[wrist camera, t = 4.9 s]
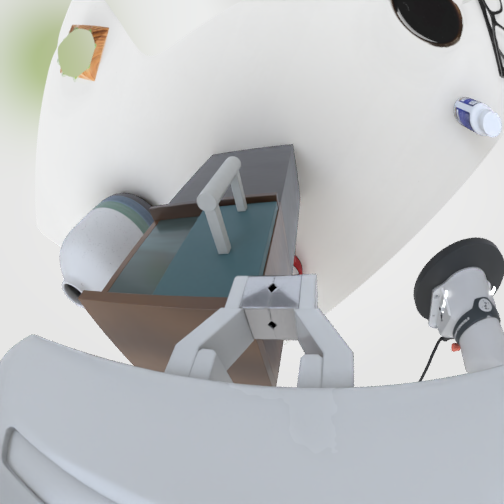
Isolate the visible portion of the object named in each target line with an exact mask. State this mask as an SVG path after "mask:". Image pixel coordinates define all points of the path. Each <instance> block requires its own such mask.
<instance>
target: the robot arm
mask: <svg viewBox="0 0 504 504" xmlns="http://www.w3.org/2000/svg"><path fill="white" fill-rule="evenodd" d="M490 288H491V284H490V282H489V281H488V280H487V279H486V275H485V273H484V271H483V270H482V269H480V268H478V267H467V268H464V269H461V270H459V271H457V272H456V273H454V274H453V275H451V276H450V277H449V278H448V279H447V280H446V281H445V282H444V283H442V284H440V285H439V286H437V287H435V288H434V289H433V290H432V295H431V305H430V313H429V320H428V324H429V326H430V327H432V328H438V330H439V333H440V335H442V336H443V337H440V338H439V340H438V341H437V343H436V345H435V347H434V350H433V351H432V354H431V356H430V359H429V361H428V364H427V366H426V368H425V370H424V372H423V374H422V376H421V378H420V380H419V382H413V383H405V384H396V385H385V386H371V387H354V356H353V352H352V350H351V349H350V348H349V346H348V345H347V344H346V342H345V341H344V340H343V339H342V337H341V336H340V335H339V333H338V332H337V331H336V329H335V328H334V327H333V326H332V324H331V323H330V322H329V320H328V319H327V318H326V316H325V315H324V314H323V313H322V311H321V310H320V309H319V308H318V292H317V275H316V274H302V275H276V276H260V275H250V276H236V277H235V278H234V281H233V284H232V287H231V290H230V293H229V296H228V299H227V302H226V305H225V308H220V309H219V310H217V311H216V312H215V313H214V314H213V315H211V316H210V317H209V318H208V319H206V320H205V321H204V322H203V323H202V324H200V325H199V326H198V327H197V328H195V329H194V330H193V331H192V332H191V333H189V334H188V335H187V336H186V337H184V338H183V339H182V340H181V341H179V342H178V343H177V344H176V345H175V348H174V350H173V352H172V355H171V357H170V360H169V362H168V364H167V367H166V369H165V372H159V371H154V370H150V369H145V368H141V367H136V366H132V365H128V364H124V363H120V362H116V361H113V360H109V359H105V358H102V357H98V356H95V355H92V354H88V353H85V352H82V351H79V350H76V349H73V348H70V347H67V346H64V345H61V344H58V343H56V342H53V341H50V340H47V339H45V338H43V337H40V336H37V335H30V336H28V337H26V338H24V339H23V340H21V341H20V342H19V343H17V344H16V345H15V346H13V347H12V348H11V349H10V350H9V351H8V352H7V353H6V354H5V356H4V357H3V358H2V360H1V361H0V504H504V332H503V330H502V327H501V325H500V318H499V313H498V312H497V309H496V305H495V302H494V299H493V293H494V292H495V290H496V288H495V287H494V288H493V289H492V291H491V290H490ZM254 339H279V340H298V341H299V343H300V345H301V347H302V349H303V350H304V352H305V355H304V356H303V357H302V358H301V360H300V368H299V376H298V383H297V388H293V387H274V386H260V385H248V384H237V383H233V381H232V379H231V378H230V376H229V374H228V373H227V370H228V369H229V368H230V367H231V365H232V364H233V363H234V362H235V361H236V360H237V359H238V358H239V357H240V356H241V354H242V353H243V352H244V351H245V350H246V349H247V348H248V347H249V345H250V344H251V343H252V342H253V341H254ZM449 339H455V340H456V342H457V343H453V344H452V351H459V350H460V348H461V352H462V356H463V360H464V365H465V369H466V371H467V372H468V373H467V374H463V375H457V376H452V377H446V378H441V379H434V380H428V381H422V379H423V377H424V375H425V373H426V371H427V369H428V367H429V365H430V363H431V360H432V358H433V355H434V353H435V351H436V349H437V347H438V345H439V343H440V341H441V340H443V341H447V340H449Z"/></svg>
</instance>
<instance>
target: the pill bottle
mask: <svg viewBox="0 0 504 504" xmlns="http://www.w3.org/2000/svg"><path fill="white" fill-rule="evenodd" d="M454 114H455V117H456V119H457V121H458V122H459V123H460V124H461V125H463V126H465V127H467V128H468V129H470V130H472V131H474V132H475V133H477V134H479V135H481V136H487V135H488V136H490V137H496V136H498V135H499V133H500V132H501V128H502V123H501V119H500V117H499V115H498V114H497V113H495V112H493V111H492V109H491V108H490V107H489V106H488V105H486V104H484V103H481V102H479V101H476V100H473V99H471V98H467V97H462V98H460V99H458V100H457V101H456V103H455V106H454Z"/></svg>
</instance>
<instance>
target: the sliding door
mask: <svg viewBox="0 0 504 504" xmlns="http://www.w3.org/2000/svg"><path fill="white" fill-rule="evenodd" d="M240 167H241V161H240V160H239V159H238V158H237V157H235V156H230V157H228V158H227V159H226V160H225V162H224V163H223V164H222V165H221V167H220V168H219V169H218V171H217V172H216V173H215V174H214V176H213V177H212V178H211V180H210V181H209V182H208V184H207V185H206V186H205V188H204V189H203V190H202V192H201V193H200V194H199V196H198V197H197V205H198V207H199V208H200V209H201V210H203V211H202V213H201V214H200V216H199V217H198V219H197V221H196V222H195V224H194V225H193V227H192V228H191V230H190V232H189V233H188V235H187V237H186V238H185V240H184V241H183V243H182V245H181V246H180V248H179V250H178V251H177V253H176V255H175V256H174V258H173V260H172V261H171V263H170V265H169V266H168V268H167V270H166V271H165V273H164V275H163V277H162V278H161V280H160V282H159V284H158V285H157V287H156V289H155V291H154V292H153V294H152V295H169V296H197V297H228V296H229V293H230V290H231V287H232V284H233V281H234V278H235V277H236V276H250V275H260V276H263V271H264V267H265V263H266V259H267V254H268V250H269V246H270V241H271V237H272V233H273V228H274V224H275V219H276V215H277V210H278V206H277V202H263V203H251V204H247V203H246V199H245V194H244V190H243V186H242V182H241V178H240V173H239V169H240ZM230 184H231V188H232V192H233V196H234V199H235V203H236V205H229V206H219V202H220V200H221V199H222V197H223V195H224V194H225V192H226V190H227V189H228V187H229V185H230Z"/></svg>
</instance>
